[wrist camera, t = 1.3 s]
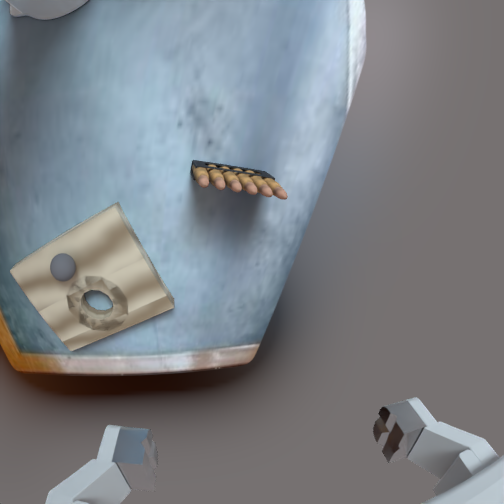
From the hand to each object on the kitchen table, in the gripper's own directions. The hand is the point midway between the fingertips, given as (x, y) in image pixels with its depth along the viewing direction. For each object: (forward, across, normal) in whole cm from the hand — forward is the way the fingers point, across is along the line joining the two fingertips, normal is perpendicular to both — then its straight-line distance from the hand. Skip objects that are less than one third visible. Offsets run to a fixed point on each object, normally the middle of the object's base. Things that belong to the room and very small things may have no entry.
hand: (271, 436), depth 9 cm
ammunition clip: (+37, 0, -7) cm, 38 cm away
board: (+37, +22, +9) cm, 44 cm away
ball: (+31, +24, +5) cm, 39 cm away
